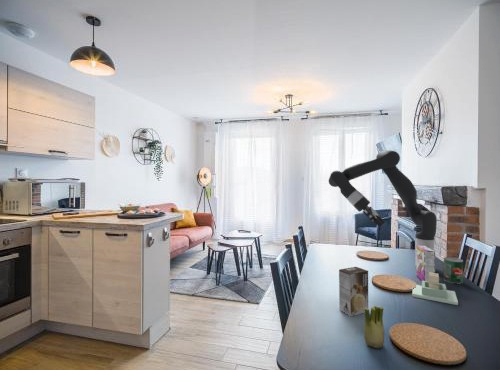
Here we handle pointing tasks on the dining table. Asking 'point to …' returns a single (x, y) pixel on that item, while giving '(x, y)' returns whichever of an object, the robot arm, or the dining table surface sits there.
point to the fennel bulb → (374, 327)
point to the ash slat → (433, 280)
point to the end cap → (435, 293)
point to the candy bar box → (424, 262)
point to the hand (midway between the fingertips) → (382, 224)
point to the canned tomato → (453, 270)
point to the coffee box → (353, 290)
